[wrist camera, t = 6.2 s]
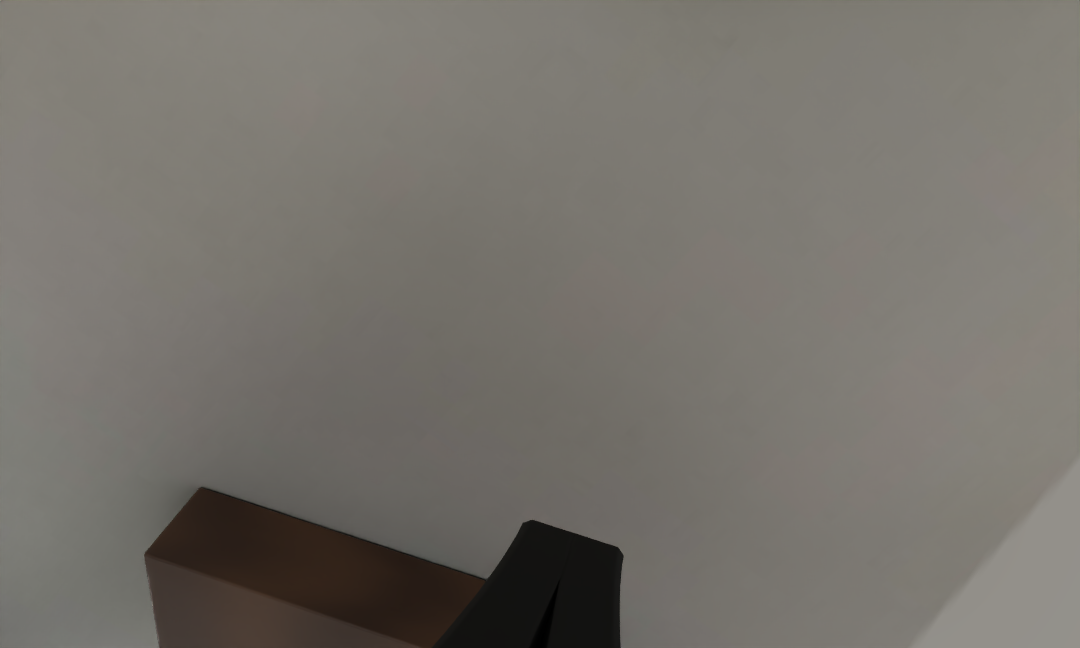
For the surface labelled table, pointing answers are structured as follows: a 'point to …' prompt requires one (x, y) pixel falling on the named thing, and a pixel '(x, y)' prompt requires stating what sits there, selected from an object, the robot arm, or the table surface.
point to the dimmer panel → (291, 584)
